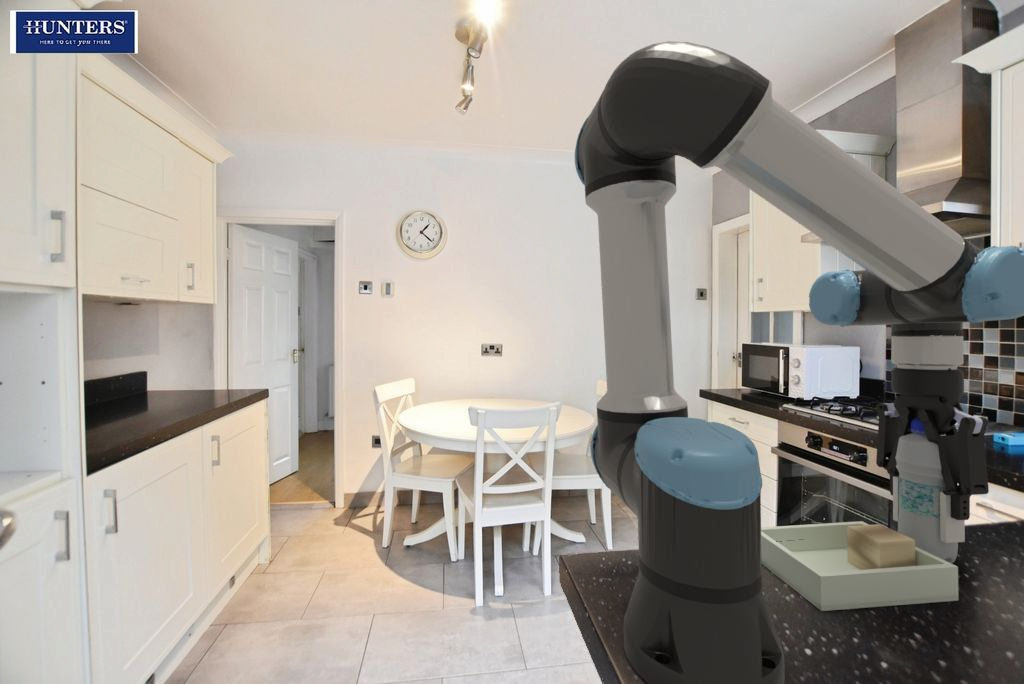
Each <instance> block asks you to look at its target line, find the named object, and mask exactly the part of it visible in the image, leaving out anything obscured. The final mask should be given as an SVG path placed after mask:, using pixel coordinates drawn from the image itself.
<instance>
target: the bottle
mask: <svg viewBox="0 0 1024 684" xmlns="http://www.w3.org/2000/svg"><path fill="white" fill-rule="evenodd" d="M911 431H912V432H914V433H910V434H907V435H905V436H901V437H900V438H899V442H898V448H897V453H896V457H895V458H896V462H897V465H896V468H897V469H898V471H899V519H898V522H897V530H896V532H898V533H901V534H903V535H905V536H907V537H909V538H912V539H914V540H915V547H917V548H919V549H922V550H924V551H926V552H928V553H930V554H932V555H934V556H936V557H938V558H941V559H943V560H945V561H947V562H949V563H951V564H953V563H955V561H956V560H957V557H958V551H959V542H953V543H945V542H943V541H941V540H940V492H942V490H947V489H946V486H945V483H944V480H943V476H942V473H941V469H942V468H941V463H940V457H939V449H938V445H937V444H936V443H934V442H930V441H928V439H927V436H926V432H925V429H924V426H923V423H922V422H921V421H920V418H914V419H912V421H911ZM940 436H942V435H940Z"/></svg>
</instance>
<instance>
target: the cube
mask: <svg viewBox="0 0 1024 684" xmlns="http://www.w3.org/2000/svg"><path fill="white" fill-rule="evenodd" d="M847 551H848V562H849V563H850V564H852V565H854V566H855V567H857V568H859V569H860V570H866V569H880V568H894V567H908V566H915V540H914V539H912V538H909V537H907V536H905V535H903V534H901V533H898V532H897V530H894V529H892V528H889V527H887V526H885V525H882V524H881V523H878V524H875V523H874V524H869V525H860V526H847Z"/></svg>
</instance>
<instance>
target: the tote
mask: <svg viewBox="0 0 1024 684" xmlns="http://www.w3.org/2000/svg"><path fill="white" fill-rule="evenodd" d="M860 525H870V524H868V523H866V522H864V521H863V520H861V521H846V522H845V521H842V522H828V523H827V522H826V523H825V522H824V523H812V524H811V523H810V524H809V523H808V524H796V525H795V524H794V525H793V524H792V525H781V526H779V525H778V526H761V561H762V565H763V566H764V567H765V568H766V567H767V568H766V569H768V570H769V571H770V572H771V573H773V574H774V575H775V576H776V577H778V578H779V579H780V580H782V581H783V582H784V583H786V584H787V585H788V586H789V587H791V588H792V590H794V591H795V592H797V593H798V594H799V595H800V596H802V598H804V599H806V600H807V601H808V602H810V604H812V605H813V606H815V607H816V608H817V609H818V610H819V611H821V612H826V611H827V612H829V611H839V610H840V611H841V610H853V609H854V610H855V609H865V608H866V609H867V608H877V607H878V608H879V607H881V608H882V607H891V606H904V605H918V604H929V603H942V602H943V603H944V602H956V601H959V566H957V565H955V564H953V563H952V564H951V563H949V562H947V561H945V560H943V559H941V558H938V557H936V556H934V555H932V554H930V553H928V552H926V551H924V550H922V549H919V548H917V547H915V566H908V567H894V568H880V569H866V570H860V569H859V568H857V567H855V566H854V565H852V564H850V563H849V562H848V551H847V526H860ZM799 539H804V540H799ZM787 540H795V541H787ZM776 541H782V542H776ZM763 542H764V543H763Z"/></svg>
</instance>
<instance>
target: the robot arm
mask: <svg viewBox="0 0 1024 684" xmlns="http://www.w3.org/2000/svg"><path fill="white" fill-rule="evenodd" d="M772 86H773V83H772V81H771V80H770V79H768V78H767V77H765V76H764V75H763V74H762V73H759V71H757V70H756V69H754V68H752V67H751V66H750V65H748V64H747V63H745V62H743V61H741V60H740V59H738V58H736V57H734V55H733V56H732V55H730V54H729V53H725V52H723V51H721V50H718V49H715V48H713V47H711V46H707V45H701V44H697V43H693V42H689V41H668V40H667V41H664V42H663V41H662V42H658V43H657V42H656V43H652V44H649V45H647V46H645V47H643V48H640V49H638V50H635V51H633V52H632V53H631V54H629V55H628V56H627V57H626V58H625V59H624V60H622V61H621V62H620V63H619V64H618V66H616V68H614V70H613V72H612V74H611V75H610V77H609V78H608V80H607V82H606V84H605V86H604V89H603V90H602V93H601V94H600V96H599V98H598V100H597V102H596V103H595V105H594V107H593V108H592V110H591V111H590V113H589V115H588V116H587V117H586V119H585V120H584V122H583V124H582V125H581V128H580V129H579V133H578V135H577V139H576V144H575V148H574V165H575V170H576V171H575V172H576V173H577V176H578V179H579V180H580V182H581V183H582V185H584V197H585V205H586V206H587V207H589V209H591V210H592V211H594V213H596V215H597V227H598V243H599V246H598V247H599V262H600V263H599V264H600V280H601V283H600V284H601V299H602V301H601V302H602V318H603V321H602V322H603V337H604V339H603V340H604V352H605V353H604V354H605V355H604V357H605V372H606V373H605V375H606V377H605V378H606V391H605V392H606V393H605V394H604V395H603V396H602V397H601V398H600V399H599V400H598V401H597V402H596V417H597V418H596V420H597V424H596V426H595V428H594V430H593V433H592V435H591V438H590V445H589V446H590V448H589V450H590V457H591V460H592V464H593V467H594V470H595V472H596V474H597V475H598V476H599V478H600V480H601V481H602V483H603V484H604V485H605V487H607V489H609V490H610V491H611V492H612V493H613V494H615V495H616V496H617V497H618V499H619V500H620V501H621V502H622V503H624V504H625V505H626V506H627V508H629V510H631V512H632V513H633V514H634V515H635V516H636V519H637V531H638V532H637V533H638V534H637V537H638V539H637V540H638V543H637V544H638V574H637V577H636V580H635V584H634V587H633V589H632V593H631V596H630V597H629V598H630V599H629V602H628V605H627V608H626V610H625V614H624V618H623V648H624V652H625V656H626V658H627V660H628V662H629V664H630V665H631V667H632V669H633V670H634V671H635V672H636V673H637V675H638V676H640V678H641V679H643V680H644V681H645V682H646V683H647V684H786V683H785V682H786V677H785V676H786V675H785V671H786V670H785V655H784V650H783V649H784V648H783V647H782V644H781V641H780V638H779V636H778V632H777V630H776V626H775V624H774V622H773V619H772V616H771V615H772V614H771V613H770V610H769V607H768V605H767V602H766V600H765V596H764V594H763V581H762V580H763V579H762V577H763V576H762V571H763V570H762V569H763V568H762V565H763V564H762V561H761V527H762V515H761V514H762V507H761V504H762V503H761V502H762V500H761V493H762V488H763V478H762V474H761V468H760V467H761V466H760V461H759V460H760V459H759V453H758V449H757V447H756V445H755V443H754V442H753V441H752V440H751V439H750V438H749V437H748V436H747V435H746V434H744V432H742V431H740V430H738V429H736V428H734V427H732V426H729V425H726V424H724V423H720V422H717V421H707V420H705V419H702V418H696V417H689V410H688V408H689V407H688V402H687V400H685V399H684V398H683V397H682V396H681V395H680V394H678V392H677V391H676V390H675V385H674V383H675V382H674V363H673V361H674V360H673V359H674V358H673V343H672V342H673V341H672V324H671V323H672V322H671V320H672V319H671V304H670V284H669V283H670V282H669V266H668V265H669V264H668V244H667V243H668V242H667V221H666V206H667V204H668V203H669V201H670V200H671V199H672V198H673V197H674V195H676V193H677V175H676V174H677V173H676V156H679V157H682V158H685V159H687V160H688V161H690V162H691V163H693V165H696V166H697V167H698V168H700V169H701V170H703V169H709V168H713V167H716V168H719V169H720V170H721V171H724V173H726V174H727V175H729V176H731V178H733V179H735V180H736V181H738V182H739V183H741V185H743V186H745V187H746V188H748V190H750V191H752V192H753V193H754V194H756V195H758V196H759V197H760V198H761V199H762V200H764V201H766V202H768V203H769V204H771V205H772V206H773V207H775V208H776V209H778V210H779V211H780V212H782V213H784V215H786V216H788V217H789V218H790V219H792V220H793V221H795V222H797V223H798V224H800V225H801V226H802V227H804V228H805V229H806V230H808V231H809V232H811V233H812V234H814V235H815V236H817V237H818V238H819V239H821V240H822V241H824V242H825V243H827V244H828V245H830V246H831V247H832V248H834V249H835V250H836V251H838V252H839V253H841V254H842V255H844V256H845V257H847V258H848V259H850V260H851V261H852V262H854V263H855V264H857V265H858V266H860V267H861V268H863V269H862V270H850V269H844V270H840V271H839V270H838V271H837V270H836V271H828V272H825V273H823V274H821V275H820V276H819V277H818V278H816V279H815V281H814V282H813V284H812V285H811V288H810V290H809V294H808V298H809V299H808V302H809V303H808V306H809V309H810V313H811V314H812V316H813V318H815V320H816V321H817V322H819V323H821V324H823V325H826V326H840V327H843V328H844V327H850V326H851V327H852V326H857V327H858V326H890V335H891V343H890V345H891V347H890V348H891V352H890V354H891V356H890V362H891V363H892V364H893V365H896V367H893V369H891V370H890V371H891V391H892V393H894V394H896V396H895V399H894V402H889V403H883V402H882V403H877V404H876V408H875V409H876V412H877V416H878V427H877V428H878V429H877V443H876V444H877V445H876V460H875V463H876V466H877V467H879V468H883V469H884V470H885V471H886V472H887V474H888V475H889V493H890V496H892V520H893V521H894V522H897V523H898V519H899V471H898V469H897V468H896V465H897V462H896V458H895V457H896V453H897V448H898V442H899V438H900V437H901V436H905V435H907V434H910V433H914V432H912V431H911V421H912V419H914V418H920V421H921V422H922V423H923V426H924V429H925V432H926V436H927V439H928V441H930V442H934V443H936V444H937V445H938V449H939V457H940V463H941V468H942V469H941V473H942V476H943V480H944V483H945V486H946V489H947V490H942V492H940V540H941V541H943V542H945V543H953V542H958V543H965V542H966V541H965V539H966V537H965V532H966V531H965V530H966V529H965V528H966V527H965V526H966V525H965V523H966V522H965V521H967V520H969V519H970V517H971V513H970V512H971V511H970V509H971V507H970V505H971V504H970V503H971V501H970V500H971V499H970V498H971V497H972V495H973V496H974V495H975V496H976V495H987V494H989V492H990V490H989V489H990V488H989V478H988V476H989V475H988V467H987V455H986V453H987V452H986V441H985V434H986V431H987V429H988V426H989V421H988V418H986V417H983V416H973V415H971V414H968V413H966V412H964V410H963V407H962V405H961V404H960V403H961V402H960V400H961V398H962V396H963V395H964V394H965V372H964V371H963V370H962V369H958V366H962V365H964V328H963V327H964V323H972V324H981V323H983V322H992V321H1002V320H1012V319H1018V318H1021V317H1023V316H1024V247H1019V246H1015V245H1008V246H1006V245H1005V246H996V245H994V246H988V247H986V248H983V249H982V248H978V247H977V246H976V245H974V244H973V243H971V242H970V241H969V240H968V239H966V238H964V237H962V236H961V235H960V233H958V232H957V231H955V230H954V229H953V228H951V227H950V226H949V225H947V224H946V223H944V222H943V221H941V220H940V219H938V218H937V217H936V216H934V215H933V214H931V212H929V211H927V210H926V209H925V208H923V207H922V206H921V205H919V204H918V203H917V202H915V201H914V200H912V199H911V198H910V197H908V196H907V195H905V194H904V193H903V192H902V191H900V190H898V189H897V188H896V187H894V186H893V185H892V184H890V183H889V182H888V181H887V180H885V179H884V178H883V177H881V176H879V175H878V173H875V172H874V171H872V170H871V169H870V168H868V167H867V165H866V166H865V165H864V164H863V163H862V162H860V161H858V160H857V159H856V158H855V157H853V156H852V155H851V154H849V153H848V152H847V151H845V150H844V149H843V148H841V147H839V146H838V145H837V144H836V143H835V142H832V141H831V140H830V139H828V137H826V136H824V135H823V134H821V133H820V132H819V131H818V130H816V129H815V128H813V127H812V126H810V125H809V124H808V123H806V122H805V121H804V120H802V119H801V118H800V117H798V116H797V115H795V114H794V113H792V112H791V111H790V110H788V109H787V108H786V107H784V106H783V105H782V104H780V103H779V102H777V101H776V100H774V98H773V96H772V95H773V93H772V91H773V90H772V89H773V87H772ZM940 435H941V436H940Z"/></svg>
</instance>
